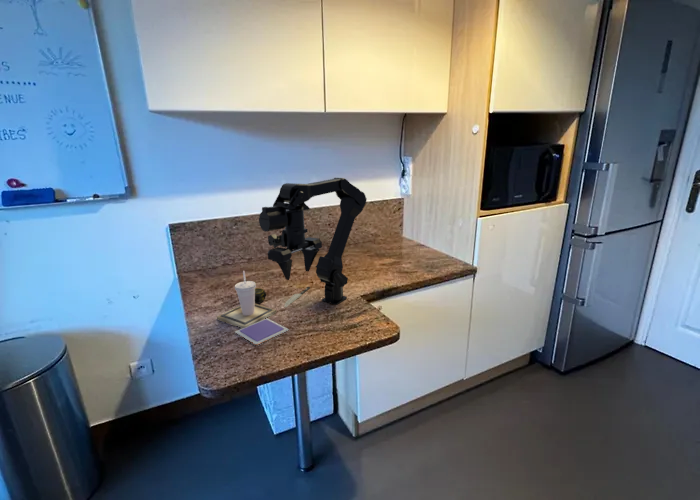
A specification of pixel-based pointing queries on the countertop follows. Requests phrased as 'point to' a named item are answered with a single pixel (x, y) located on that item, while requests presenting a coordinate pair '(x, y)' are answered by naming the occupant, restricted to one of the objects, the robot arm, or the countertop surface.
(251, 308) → the smoothie
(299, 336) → the countertop surface
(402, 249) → the countertop surface
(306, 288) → the chef's knife
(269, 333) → the ink pad
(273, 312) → the board
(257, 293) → the tape measure
